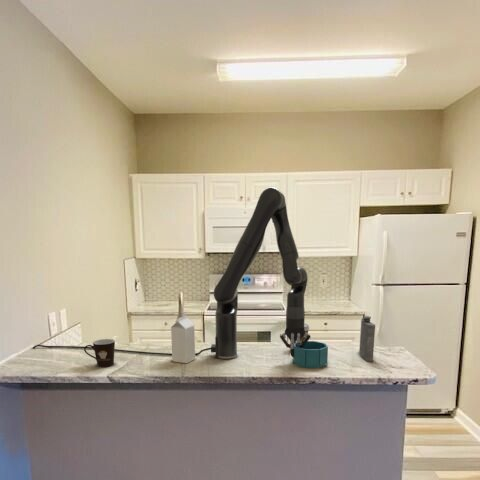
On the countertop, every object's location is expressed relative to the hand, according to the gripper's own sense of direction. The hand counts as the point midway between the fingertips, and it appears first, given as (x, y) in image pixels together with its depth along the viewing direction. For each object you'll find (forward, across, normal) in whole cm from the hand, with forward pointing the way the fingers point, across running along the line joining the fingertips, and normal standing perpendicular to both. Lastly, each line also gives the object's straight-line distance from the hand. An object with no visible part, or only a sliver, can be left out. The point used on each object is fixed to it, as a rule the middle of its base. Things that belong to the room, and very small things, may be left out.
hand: (294, 356), depth 169 cm
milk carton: (+2, +47, -3) cm, 47 cm away
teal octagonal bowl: (+3, -6, 0) cm, 7 cm away
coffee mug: (+2, +80, +3) cm, 80 cm away
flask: (+3, -32, -9) cm, 33 cm away
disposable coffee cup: (+3, -4, -19) cm, 20 cm away
